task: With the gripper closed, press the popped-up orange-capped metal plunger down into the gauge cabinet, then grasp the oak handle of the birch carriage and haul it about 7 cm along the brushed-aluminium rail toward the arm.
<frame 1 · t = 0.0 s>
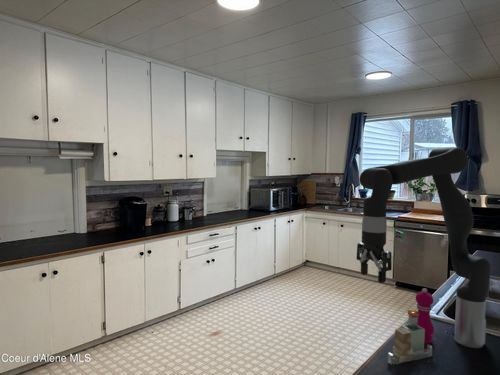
hand: (372, 278, 112), 29 cm above the table, fingers open, 8 cm apart
cabinet: (411, 348, 124), on the table
rail: (410, 359, 117), on the table
carriage: (402, 344, 115), point 6 cm above the table, slide at 0.0 cm
pepper mill: (422, 340, 130), on the table
plunger: (413, 320, 123), point 11 cm above the table, slide at 0.0 cm
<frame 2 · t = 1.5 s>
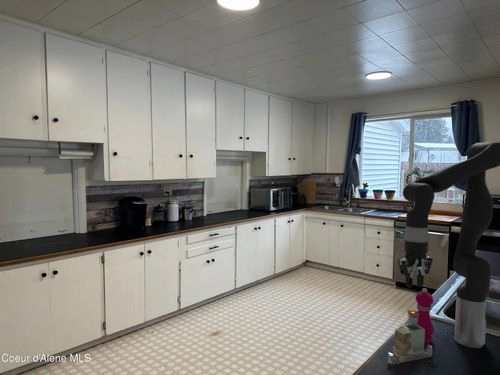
hand: (414, 286, 122), 23 cm above the table, fingers open, 4 cm apart
nothing on the table moved.
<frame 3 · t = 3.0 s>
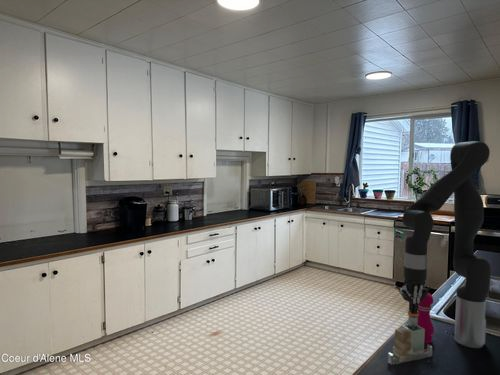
hand: (413, 312, 123), 13 cm above the table, fingers closed
plunger: (413, 320, 123), point 11 cm above the table, slide at 0.2 cm, touching gripper
everything else where it was.
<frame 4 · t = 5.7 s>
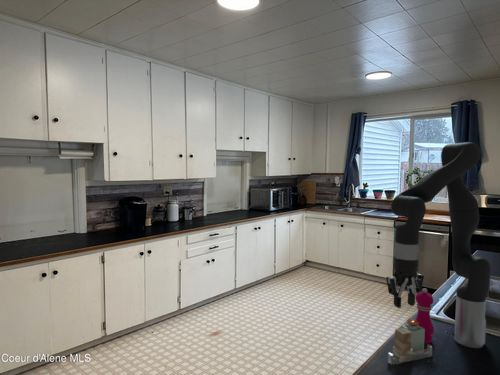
hand: (404, 305, 114), 19 cm above the table, fingers open, 5 cm apart
plunger: (412, 329, 123), point 7 cm above the table, slide at 3.4 cm
everything else where it was.
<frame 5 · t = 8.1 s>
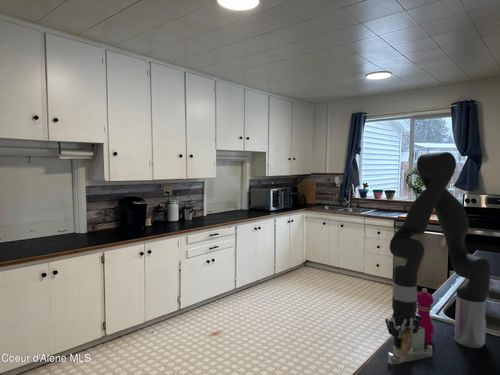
hand: (402, 346, 115), 5 cm above the table, fingers closed on carriage, 3 cm apart
carriage: (402, 344, 115), point 6 cm above the table, slide at 0.0 cm, touching gripper
everything else where it was.
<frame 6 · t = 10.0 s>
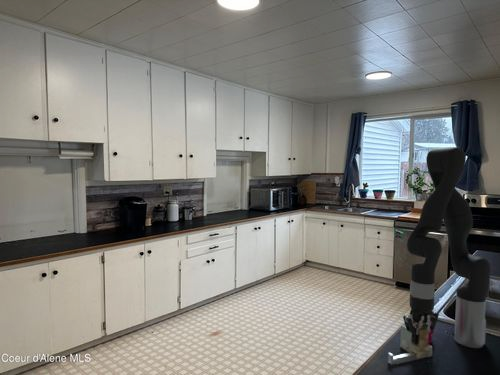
hand: (419, 342, 118), 5 cm above the table, fingers closed on carriage, 3 cm apart
carriage: (420, 340, 118), point 6 cm above the table, slide at 7.5 cm, touching gripper
everything else where it was.
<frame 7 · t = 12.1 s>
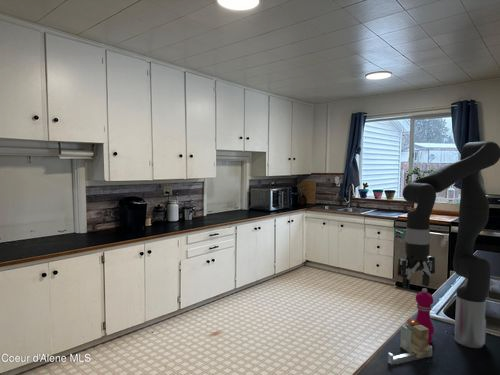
hand: (415, 287, 118), 24 cm above the table, fingers open, 8 cm apart
carriage: (420, 340, 118), point 6 cm above the table, slide at 7.5 cm
everything else where it was.
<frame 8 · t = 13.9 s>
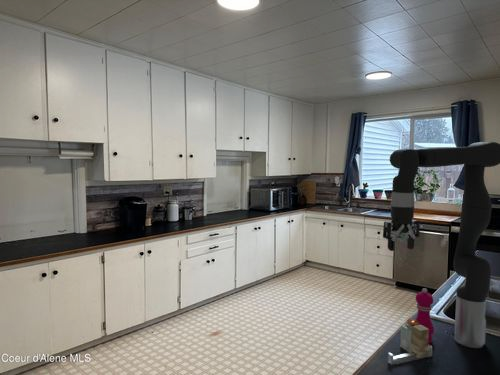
hand: (400, 249, 123), 36 cm above the table, fingers open, 8 cm apart
nothing on the table moved.
at the end: carriage slide at 7.5 cm; plunger slide at 3.4 cm; the gripper is holding nothing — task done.
